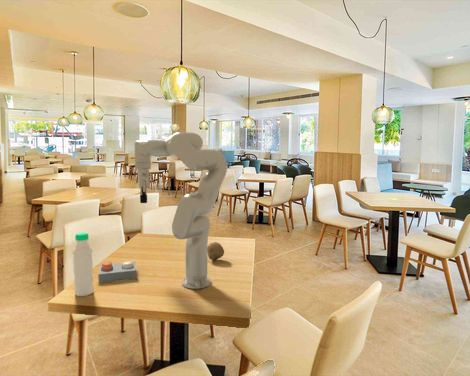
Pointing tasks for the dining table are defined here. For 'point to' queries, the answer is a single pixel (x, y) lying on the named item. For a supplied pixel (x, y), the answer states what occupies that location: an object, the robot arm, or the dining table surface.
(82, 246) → the water bottle
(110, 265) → the red plug
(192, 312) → the dining table surface
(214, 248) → the natural sponge
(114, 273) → the panel
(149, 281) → the dining table surface
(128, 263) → the domed peg
